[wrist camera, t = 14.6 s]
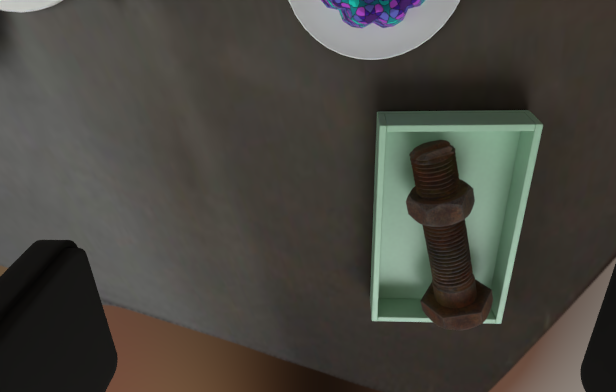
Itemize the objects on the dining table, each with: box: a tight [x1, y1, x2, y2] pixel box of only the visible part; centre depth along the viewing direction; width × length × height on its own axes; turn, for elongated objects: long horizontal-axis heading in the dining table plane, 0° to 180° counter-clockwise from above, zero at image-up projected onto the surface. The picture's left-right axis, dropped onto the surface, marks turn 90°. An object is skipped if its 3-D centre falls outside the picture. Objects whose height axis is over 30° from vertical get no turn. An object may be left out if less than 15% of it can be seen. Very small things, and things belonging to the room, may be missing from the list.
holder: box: [370, 110, 543, 324], centre depth 39 cm, size 11×18×3 cm, turn 2°
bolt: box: [406, 140, 493, 330], centre depth 38 cm, size 6×5×15 cm
